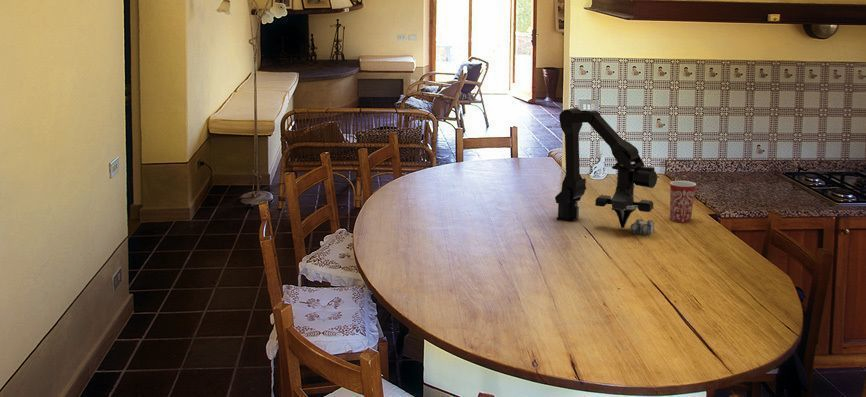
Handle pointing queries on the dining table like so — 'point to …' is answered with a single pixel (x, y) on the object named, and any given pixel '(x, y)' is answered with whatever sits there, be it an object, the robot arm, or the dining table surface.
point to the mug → (681, 200)
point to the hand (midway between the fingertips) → (622, 227)
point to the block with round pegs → (644, 224)
